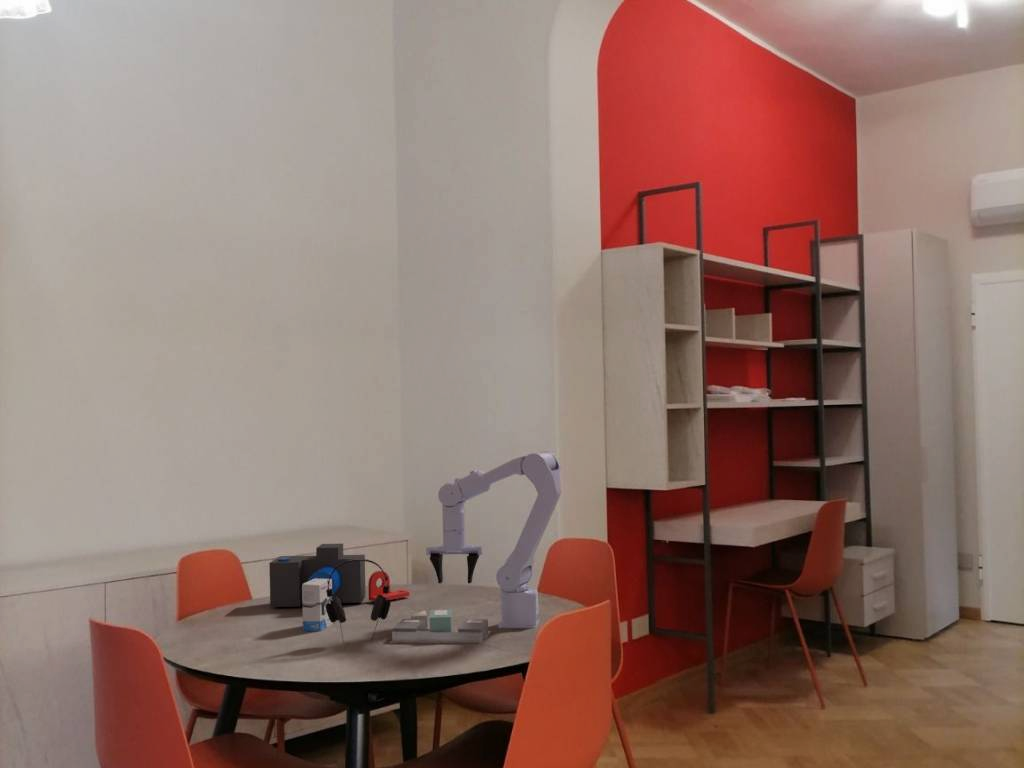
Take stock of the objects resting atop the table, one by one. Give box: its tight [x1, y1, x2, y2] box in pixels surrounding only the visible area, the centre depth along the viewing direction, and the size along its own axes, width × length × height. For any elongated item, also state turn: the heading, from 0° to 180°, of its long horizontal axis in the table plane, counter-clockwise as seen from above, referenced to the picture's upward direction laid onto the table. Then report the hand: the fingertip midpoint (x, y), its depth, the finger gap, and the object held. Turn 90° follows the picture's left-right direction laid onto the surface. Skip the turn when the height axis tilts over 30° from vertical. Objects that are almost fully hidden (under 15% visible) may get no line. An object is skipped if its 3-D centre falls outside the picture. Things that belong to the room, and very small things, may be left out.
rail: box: [391, 630, 483, 644], centre depth 218 cm, size 21×1×2 cm, turn 82°
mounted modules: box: [392, 618, 489, 642], centre depth 223 cm, size 21×10×3 cm, turn 82°
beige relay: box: [408, 609, 429, 630], centre depth 234 cm, size 4×6×4 cm, turn 12°
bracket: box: [368, 570, 411, 602], centre depth 273 cm, size 12×4×8 cm, turn 135°
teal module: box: [429, 609, 453, 631], centre depth 223 cm, size 5×8×6 cm, turn 3°
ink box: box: [302, 579, 334, 632], centre depth 238 cm, size 8×5×12 cm, turn 168°
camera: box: [268, 543, 366, 608], centre depth 267 cm, size 25×16×16 cm, turn 89°
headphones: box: [325, 558, 391, 643], centre depth 222 cm, size 15×11×20 cm
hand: (455, 582), depth 241 cm, fingers open, 7 cm apart
